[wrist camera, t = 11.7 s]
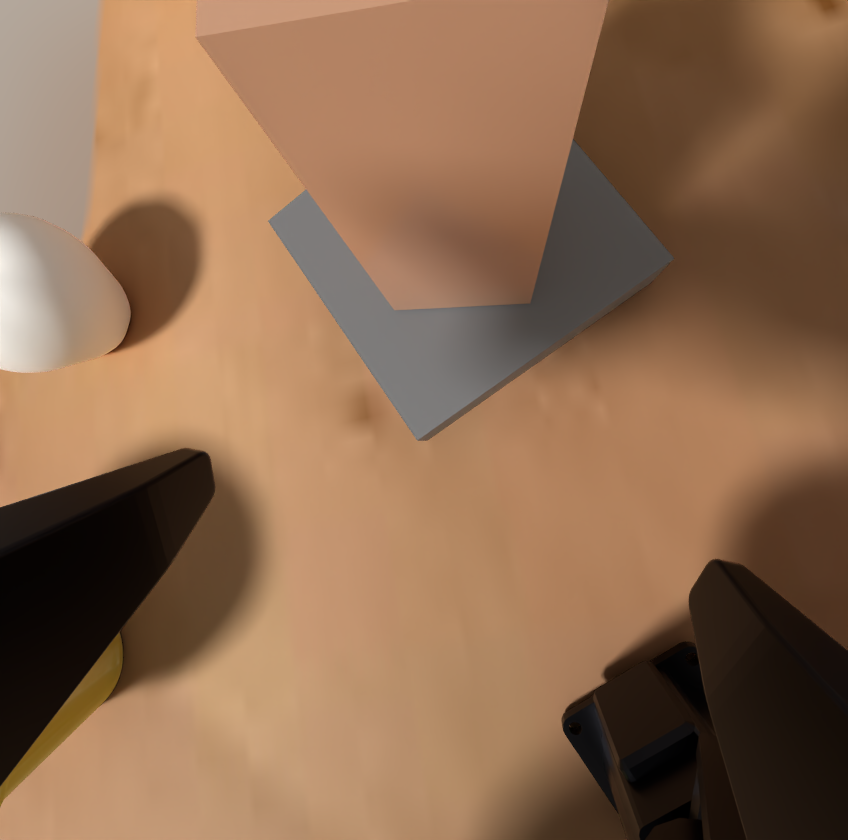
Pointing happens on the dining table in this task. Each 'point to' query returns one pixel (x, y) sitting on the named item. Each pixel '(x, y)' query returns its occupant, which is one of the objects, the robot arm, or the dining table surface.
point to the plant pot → (71, 713)
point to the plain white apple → (54, 298)
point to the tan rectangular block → (419, 127)
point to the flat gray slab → (481, 325)
